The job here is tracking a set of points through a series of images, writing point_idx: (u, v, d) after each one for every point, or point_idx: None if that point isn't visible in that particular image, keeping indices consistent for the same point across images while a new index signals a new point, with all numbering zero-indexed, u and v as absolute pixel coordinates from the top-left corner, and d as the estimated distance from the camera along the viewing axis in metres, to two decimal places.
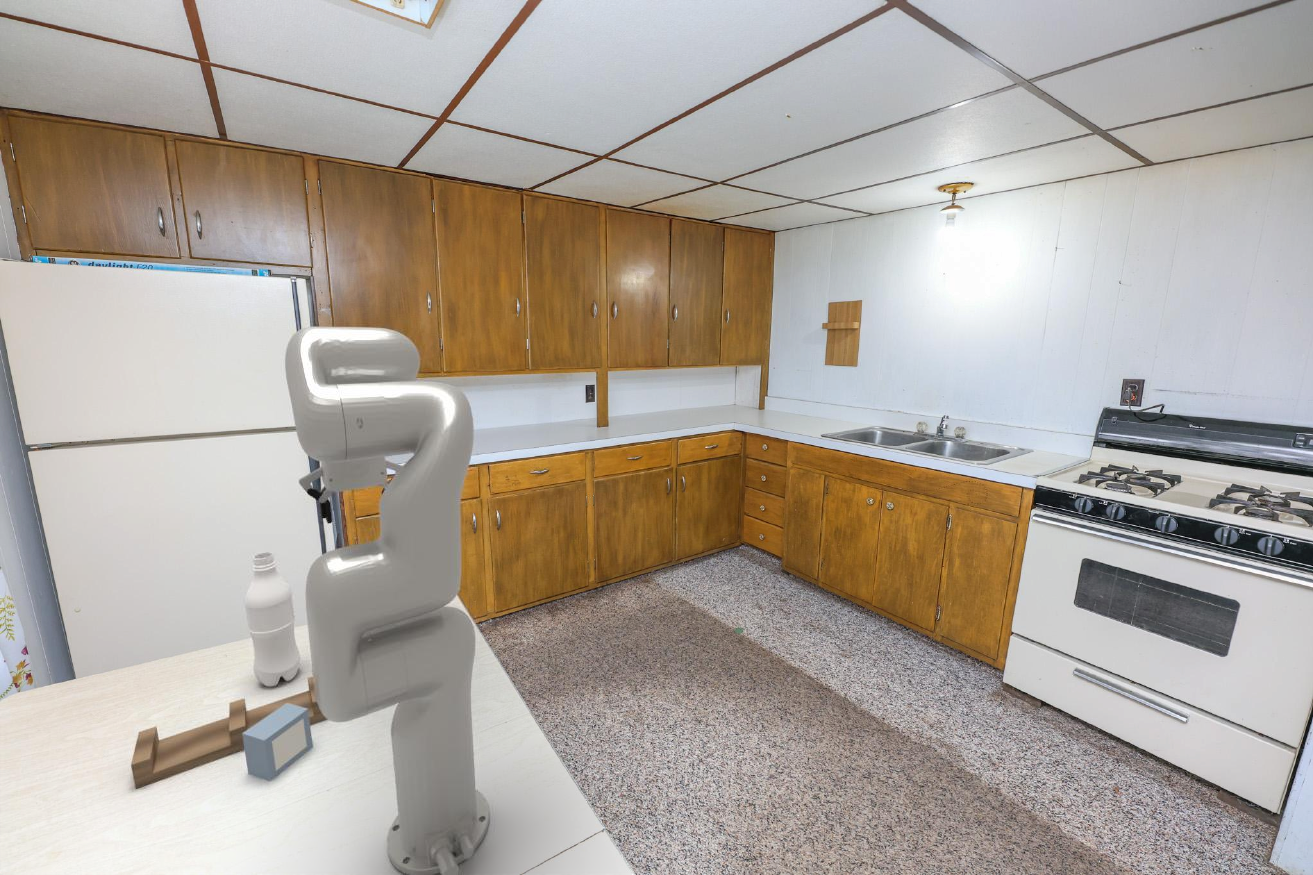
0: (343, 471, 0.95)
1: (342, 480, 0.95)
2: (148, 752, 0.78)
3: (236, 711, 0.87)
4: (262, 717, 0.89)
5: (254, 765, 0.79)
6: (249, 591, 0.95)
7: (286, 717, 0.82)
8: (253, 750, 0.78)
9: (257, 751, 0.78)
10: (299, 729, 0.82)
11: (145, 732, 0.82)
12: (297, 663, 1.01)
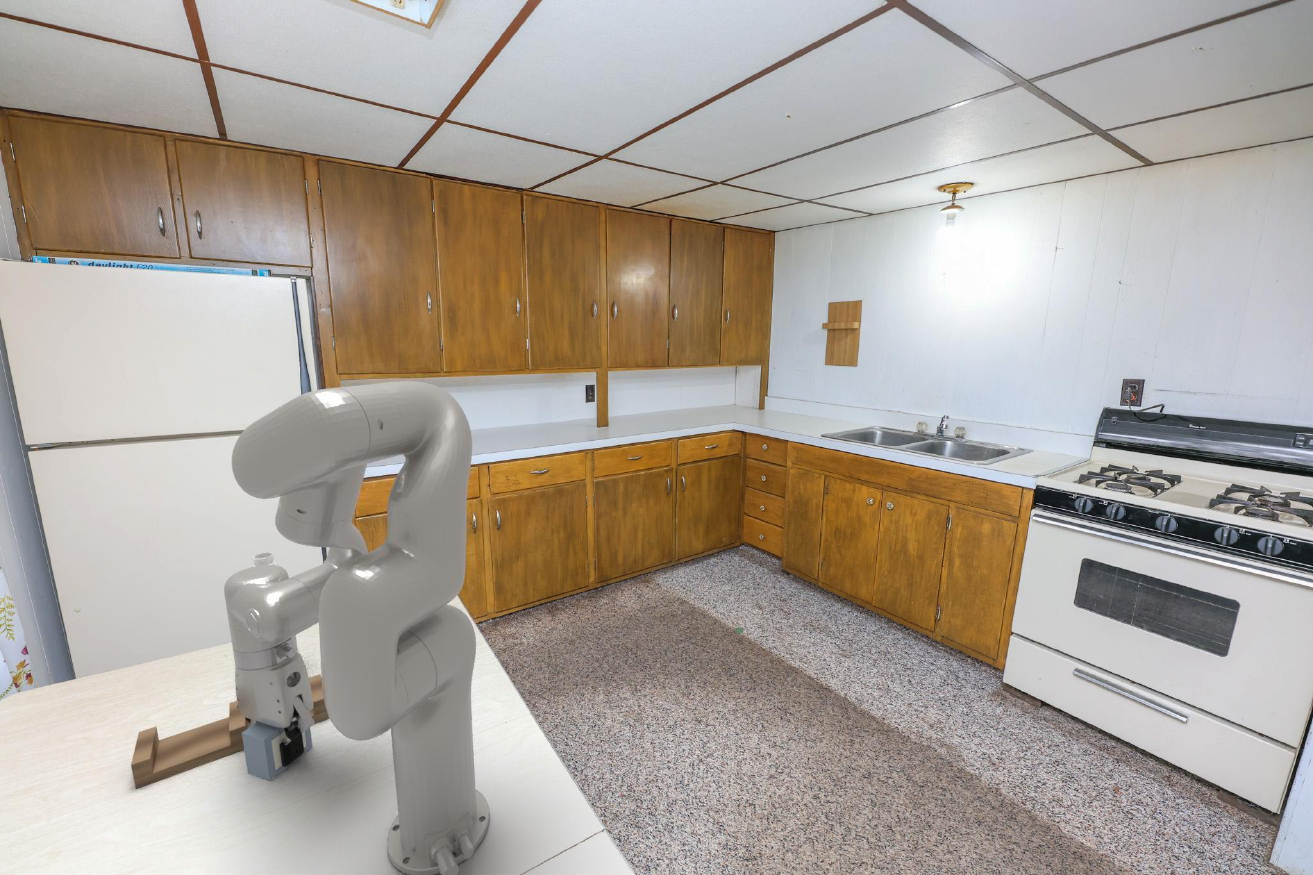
0: None
1: None
2: (148, 752, 0.78)
3: (236, 711, 0.87)
4: None
5: (253, 765, 0.79)
6: None
7: None
8: (253, 749, 0.78)
9: (257, 750, 0.78)
10: None
11: (145, 732, 0.82)
12: None
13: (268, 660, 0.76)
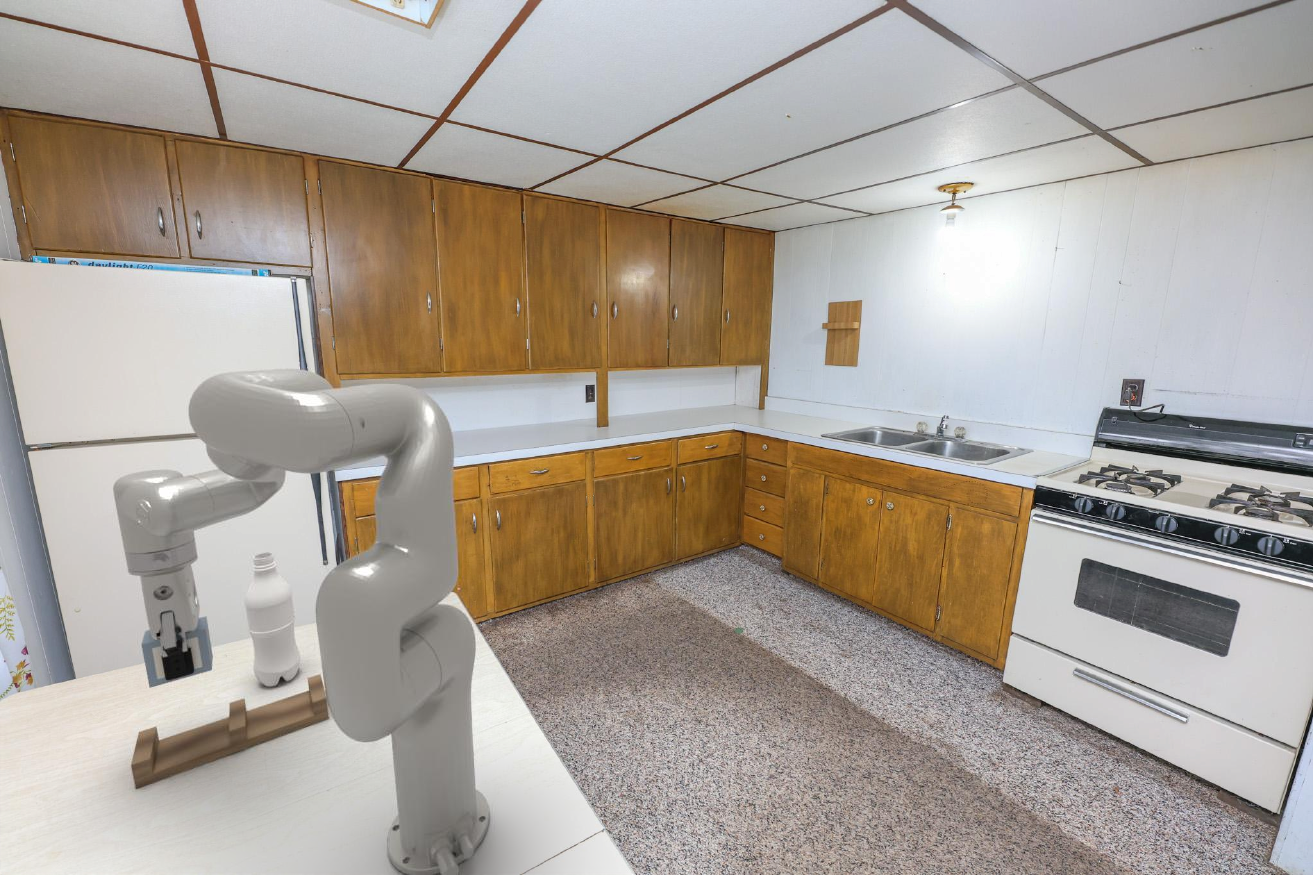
0: (194, 602, 0.79)
1: (196, 613, 0.79)
2: (148, 752, 0.78)
3: (236, 711, 0.87)
4: (262, 717, 0.89)
5: None
6: (249, 591, 0.95)
7: None
8: None
9: None
10: (191, 646, 0.79)
11: (145, 732, 0.82)
12: (297, 663, 1.01)
13: (140, 565, 0.74)
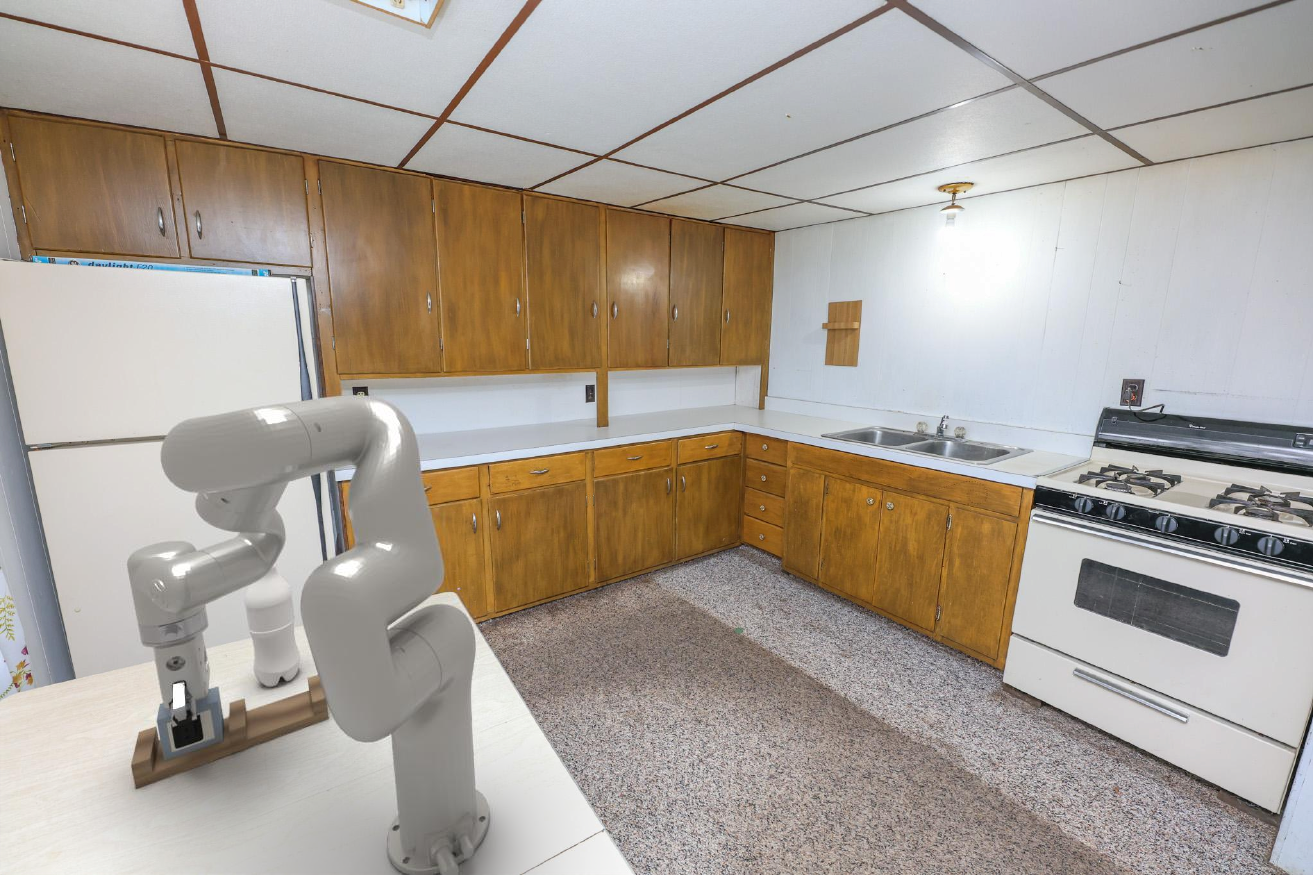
0: (205, 669, 0.81)
1: (206, 679, 0.81)
2: (148, 752, 0.78)
3: (236, 711, 0.87)
4: (262, 717, 0.89)
5: None
6: (249, 591, 0.95)
7: (196, 703, 0.82)
8: None
9: None
10: (204, 719, 0.82)
11: (145, 732, 0.82)
12: (297, 663, 1.01)
13: (153, 637, 0.76)
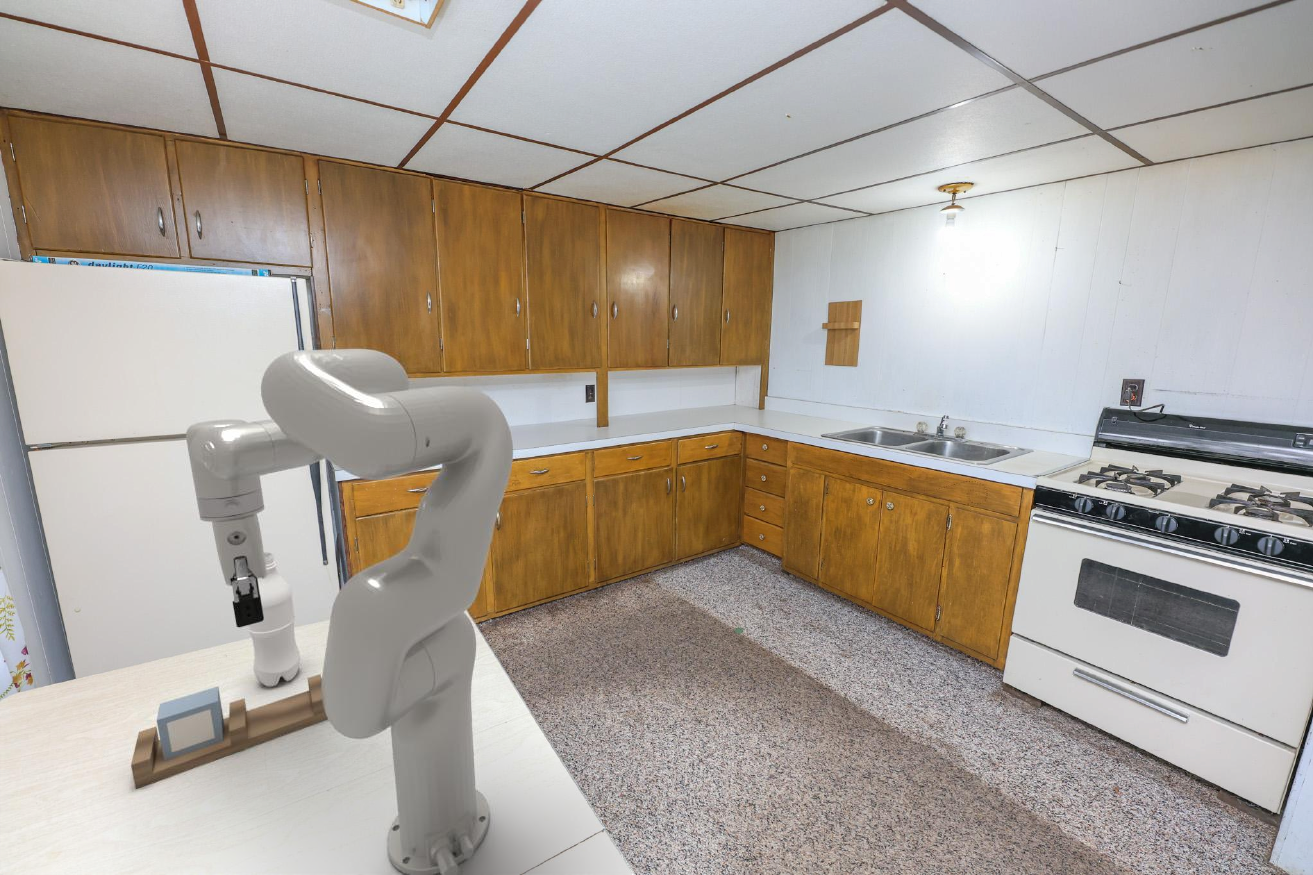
0: (263, 551, 0.80)
1: None
2: (148, 752, 0.78)
3: (236, 711, 0.87)
4: (262, 717, 0.89)
5: None
6: None
7: (196, 703, 0.82)
8: None
9: None
10: (204, 719, 0.82)
11: (145, 732, 0.82)
12: (297, 663, 1.01)
13: (213, 511, 0.75)
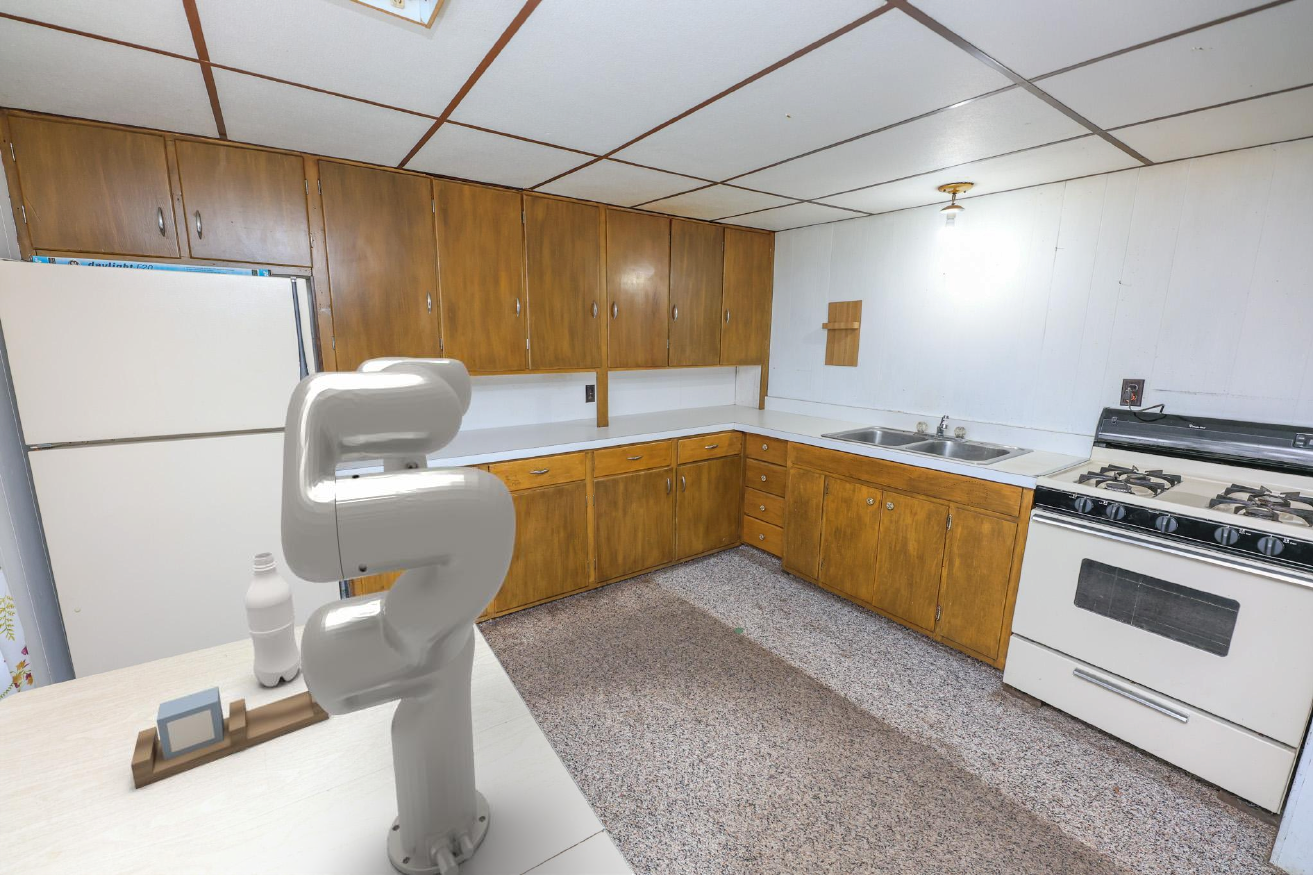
0: None
1: None
2: (148, 752, 0.78)
3: (236, 711, 0.87)
4: (262, 717, 0.89)
5: None
6: (250, 591, 0.95)
7: (196, 703, 0.82)
8: None
9: None
10: (204, 719, 0.82)
11: (145, 732, 0.82)
12: (297, 663, 1.01)
13: None
